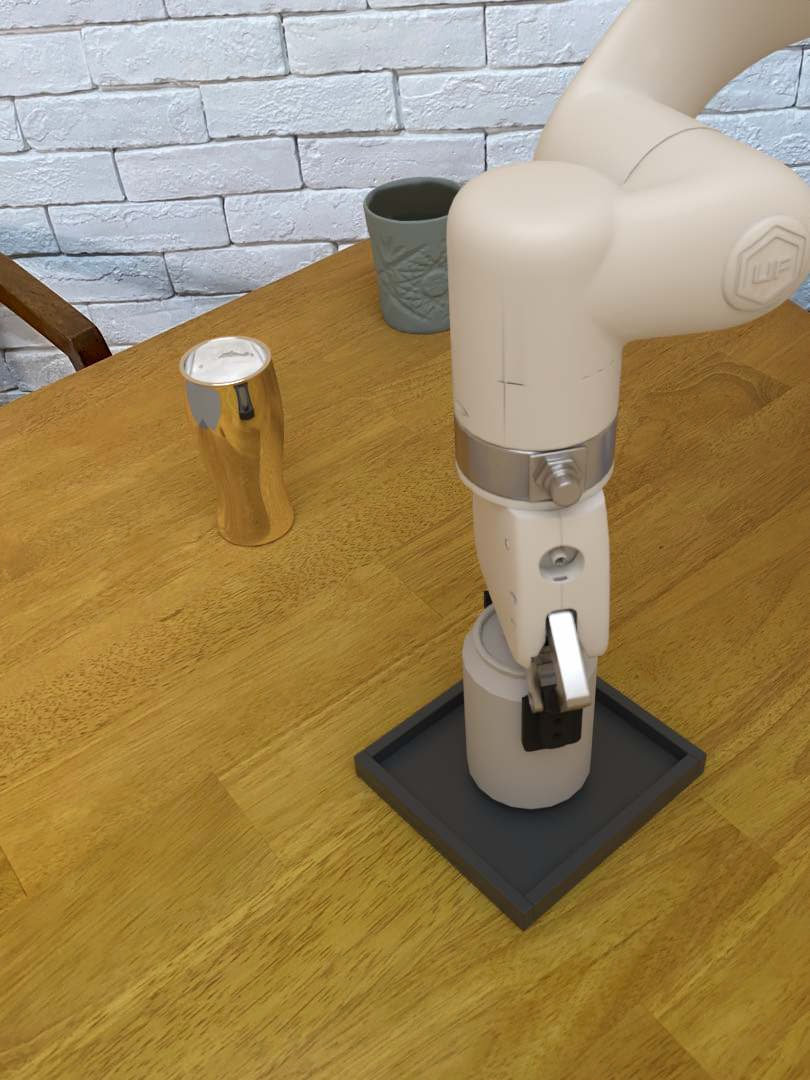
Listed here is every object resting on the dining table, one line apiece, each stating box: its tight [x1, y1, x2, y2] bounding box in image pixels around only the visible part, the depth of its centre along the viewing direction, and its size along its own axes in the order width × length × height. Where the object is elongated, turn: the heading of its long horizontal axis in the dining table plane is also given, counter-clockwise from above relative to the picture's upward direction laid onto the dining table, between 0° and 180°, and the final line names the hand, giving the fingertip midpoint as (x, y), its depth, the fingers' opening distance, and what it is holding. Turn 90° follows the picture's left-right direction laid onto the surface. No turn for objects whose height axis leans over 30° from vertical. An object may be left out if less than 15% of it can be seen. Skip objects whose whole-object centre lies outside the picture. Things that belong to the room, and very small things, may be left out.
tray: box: [353, 674, 708, 932], centre depth 69 cm, size 16×15×2 cm
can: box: [461, 603, 599, 809], centre depth 65 cm, size 8×8×12 cm
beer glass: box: [178, 335, 295, 547], centre depth 85 cm, size 7×7×15 cm
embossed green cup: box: [362, 176, 464, 335], centre depth 109 cm, size 10×10×12 cm
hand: (530, 686), depth 64 cm, fingers closed on can, 7 cm apart
